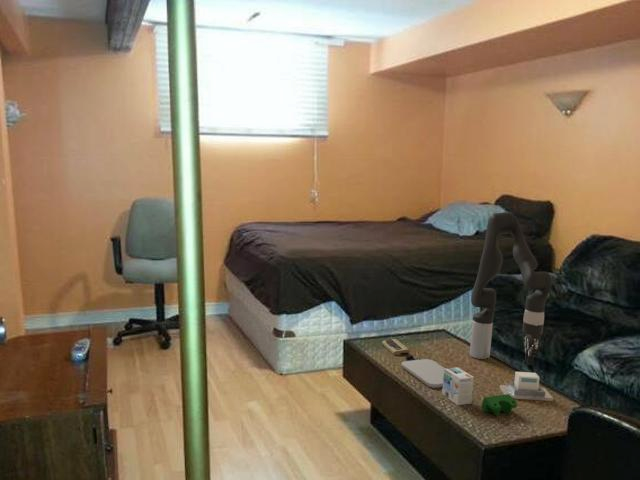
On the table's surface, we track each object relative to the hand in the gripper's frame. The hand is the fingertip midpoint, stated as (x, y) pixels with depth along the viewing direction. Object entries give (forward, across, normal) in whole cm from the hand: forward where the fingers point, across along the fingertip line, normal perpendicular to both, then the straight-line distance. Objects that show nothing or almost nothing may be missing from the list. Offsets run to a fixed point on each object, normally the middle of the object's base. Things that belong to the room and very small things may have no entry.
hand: (529, 363), depth 220 cm
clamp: (+13, +19, -15) cm, 28 cm away
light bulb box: (+13, +9, -29) cm, 33 cm away
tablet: (+14, -14, -36) cm, 41 cm away
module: (+12, 0, 0) cm, 12 cm away
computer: (+14, -44, -49) cm, 67 cm away
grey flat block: (+13, 0, 0) cm, 13 cm away
